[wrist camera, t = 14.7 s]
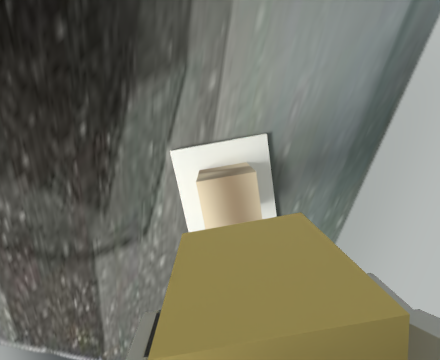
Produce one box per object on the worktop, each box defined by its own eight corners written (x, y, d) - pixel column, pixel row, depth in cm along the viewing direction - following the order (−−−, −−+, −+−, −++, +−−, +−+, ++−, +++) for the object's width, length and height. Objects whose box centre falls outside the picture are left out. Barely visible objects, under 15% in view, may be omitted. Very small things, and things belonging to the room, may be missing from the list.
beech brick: (207, 214, 23) (206, 236, 19) (199, 170, 22) (195, 181, 17) (252, 206, 23) (263, 226, 19) (246, 162, 22) (256, 171, 17)
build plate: (191, 233, 25) (190, 238, 24) (172, 150, 23) (170, 151, 22) (274, 218, 25) (277, 223, 24) (263, 133, 23) (266, 133, 22)
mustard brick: (205, 328, 10) (199, 515, 5) (182, 233, 9) (147, 360, 4) (309, 309, 10) (401, 480, 5) (301, 212, 9) (409, 314, 4)
